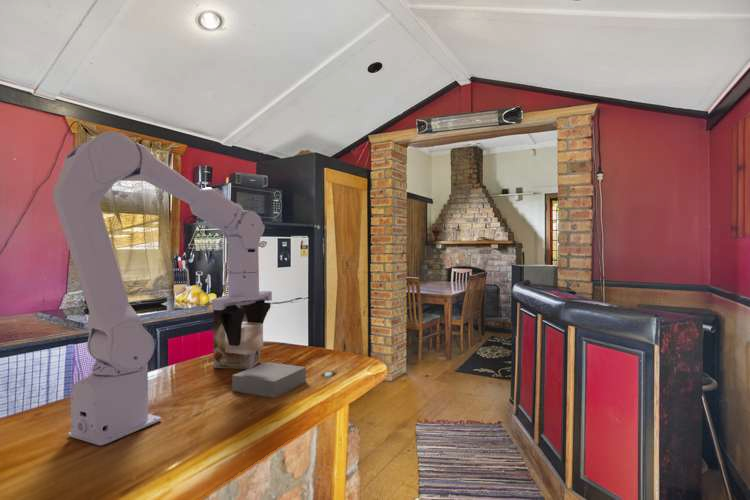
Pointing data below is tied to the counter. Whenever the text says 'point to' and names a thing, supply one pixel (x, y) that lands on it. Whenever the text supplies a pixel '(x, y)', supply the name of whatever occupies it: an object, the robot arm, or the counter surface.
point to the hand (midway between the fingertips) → (244, 342)
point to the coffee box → (230, 359)
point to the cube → (247, 339)
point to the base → (269, 379)
